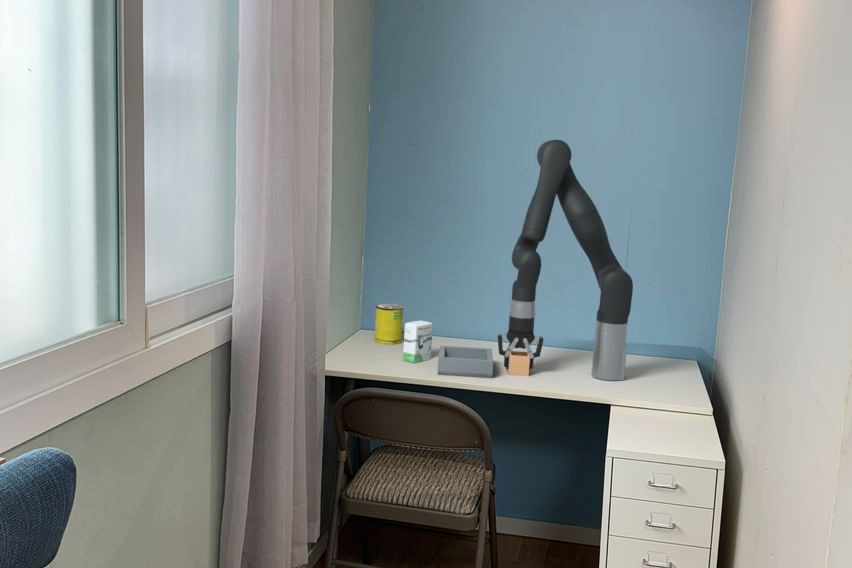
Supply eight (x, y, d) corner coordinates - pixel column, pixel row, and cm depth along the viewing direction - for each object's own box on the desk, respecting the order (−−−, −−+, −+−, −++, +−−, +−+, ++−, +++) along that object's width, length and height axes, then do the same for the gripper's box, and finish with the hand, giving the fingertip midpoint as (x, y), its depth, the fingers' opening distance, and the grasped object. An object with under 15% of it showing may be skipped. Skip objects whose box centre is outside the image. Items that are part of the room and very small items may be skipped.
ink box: (414, 363, 274) (416, 326, 272) (401, 360, 277) (403, 323, 275) (431, 359, 281) (433, 322, 279) (419, 356, 284) (421, 319, 282)
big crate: (490, 364, 278) (491, 348, 277) (492, 378, 262) (493, 361, 261) (439, 361, 278) (440, 345, 278) (437, 374, 263) (438, 358, 262)
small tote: (527, 371, 273) (528, 352, 272) (528, 376, 267) (529, 356, 266) (507, 369, 273) (508, 350, 272) (508, 375, 267) (509, 355, 266)
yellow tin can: (401, 339, 305) (403, 304, 303) (401, 345, 296) (402, 309, 294) (375, 337, 305) (376, 303, 303) (373, 343, 296) (375, 308, 294)
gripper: (545, 313, 270) (540, 367, 273) (497, 310, 271) (493, 364, 273) (547, 318, 263) (543, 374, 266) (498, 315, 263) (494, 371, 266)
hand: (518, 369), depth 269 cm, fingers closed on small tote, 6 cm apart
